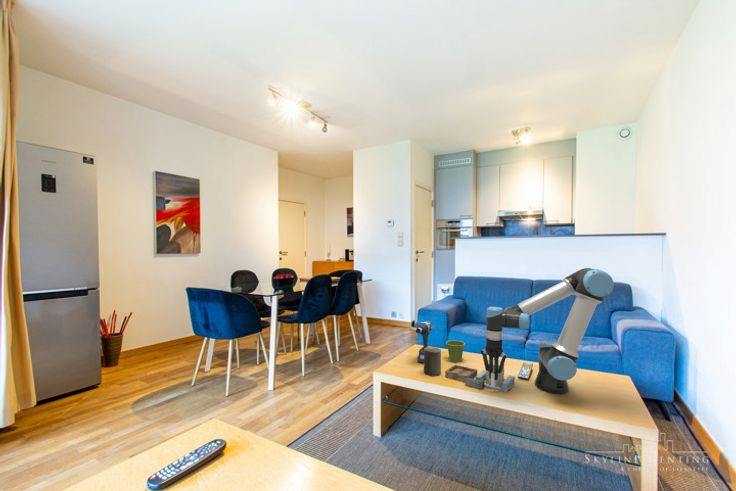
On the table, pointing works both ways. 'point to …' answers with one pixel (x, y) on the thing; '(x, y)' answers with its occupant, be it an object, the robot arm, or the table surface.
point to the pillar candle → (432, 361)
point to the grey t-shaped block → (475, 383)
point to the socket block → (505, 386)
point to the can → (500, 376)
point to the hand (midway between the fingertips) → (493, 385)
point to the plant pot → (455, 350)
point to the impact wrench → (424, 337)
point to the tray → (460, 373)
